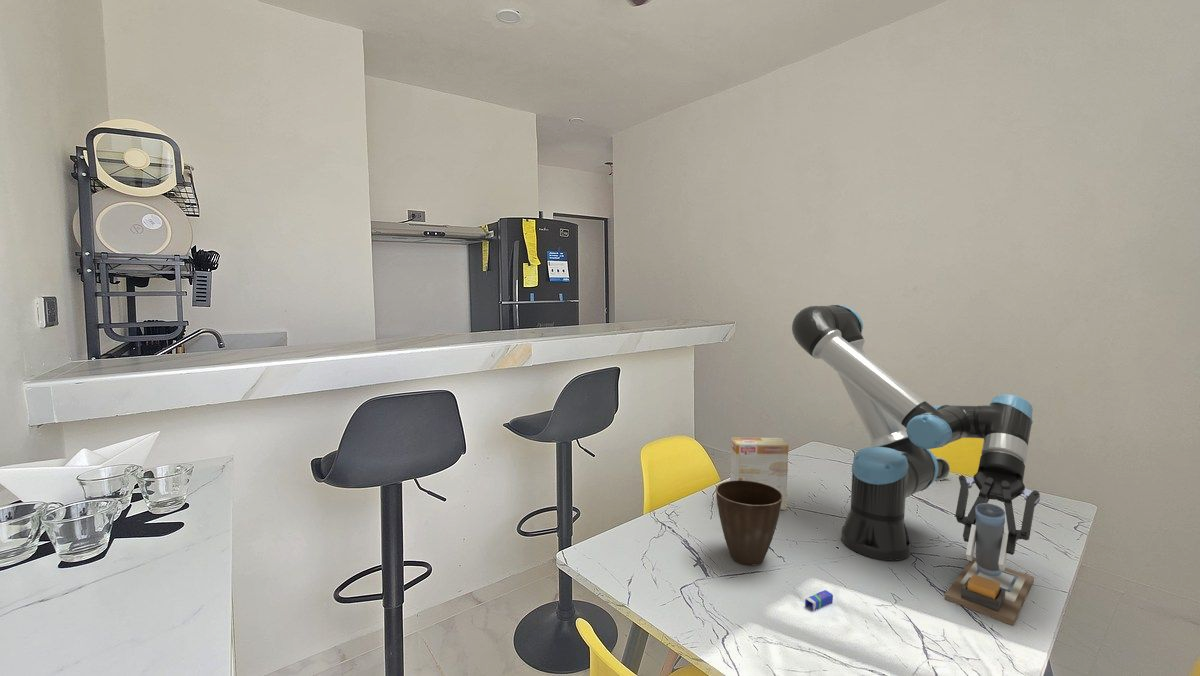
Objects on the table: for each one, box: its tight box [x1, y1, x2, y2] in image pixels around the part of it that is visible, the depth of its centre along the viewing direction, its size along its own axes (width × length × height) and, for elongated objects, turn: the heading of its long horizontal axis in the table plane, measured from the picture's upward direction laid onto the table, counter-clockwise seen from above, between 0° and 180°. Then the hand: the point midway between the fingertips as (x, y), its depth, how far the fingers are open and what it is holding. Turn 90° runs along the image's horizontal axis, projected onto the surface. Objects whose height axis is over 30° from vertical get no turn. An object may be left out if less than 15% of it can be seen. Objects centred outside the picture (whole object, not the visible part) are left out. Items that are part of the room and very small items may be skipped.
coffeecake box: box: [729, 436, 789, 511], centre depth 147 cm, size 15×7×20 cm, turn 88°
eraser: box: [804, 589, 834, 612], centre depth 101 cm, size 2×6×2 cm, turn 118°
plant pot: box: [715, 480, 782, 566], centre depth 118 cm, size 15×15×16 cm
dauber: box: [975, 502, 1006, 576], centre depth 100 cm, size 5×5×14 cm
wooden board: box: [944, 556, 1035, 626], centre depth 106 cm, size 22×11×3 cm, turn 132°
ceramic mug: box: [934, 455, 951, 482], centre depth 170 cm, size 11×8×8 cm
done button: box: [967, 574, 1000, 600], centre depth 101 cm, size 4×4×2 cm
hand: (984, 562), depth 98 cm, fingers closed on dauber, 4 cm apart
